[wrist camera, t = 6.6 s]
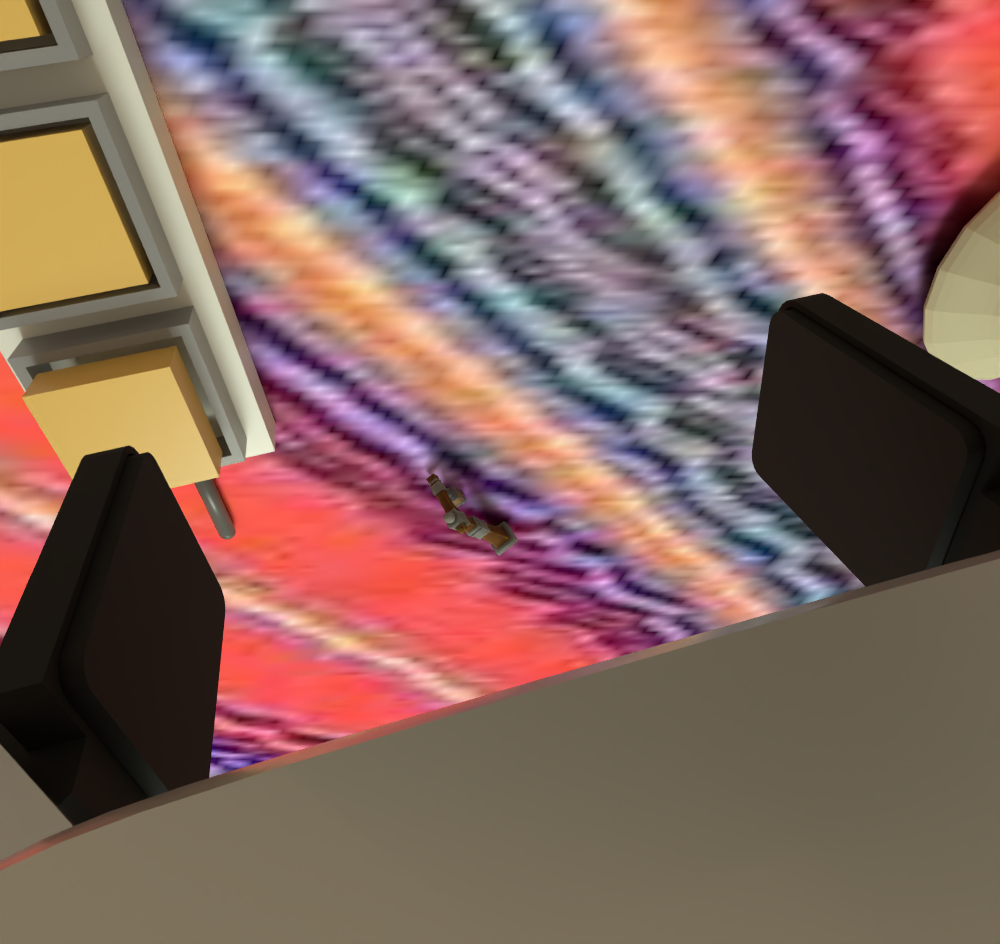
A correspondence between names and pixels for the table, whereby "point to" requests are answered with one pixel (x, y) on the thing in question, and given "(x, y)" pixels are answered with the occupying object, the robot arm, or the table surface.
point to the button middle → (63, 220)
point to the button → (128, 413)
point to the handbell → (968, 299)
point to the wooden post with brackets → (470, 518)
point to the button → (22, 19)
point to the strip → (157, 218)
